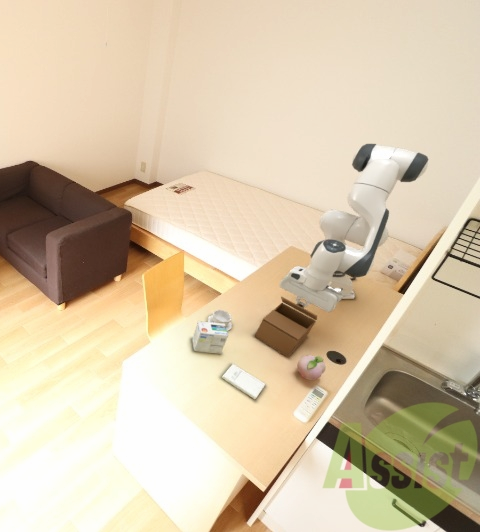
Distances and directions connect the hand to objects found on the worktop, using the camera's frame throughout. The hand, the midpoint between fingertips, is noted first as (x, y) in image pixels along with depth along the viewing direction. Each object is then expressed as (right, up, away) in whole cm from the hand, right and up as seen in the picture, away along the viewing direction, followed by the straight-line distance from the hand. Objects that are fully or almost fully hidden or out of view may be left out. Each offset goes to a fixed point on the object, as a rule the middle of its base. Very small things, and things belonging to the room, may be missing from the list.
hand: (300, 306), depth 142 cm
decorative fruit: (-5, -25, -10) cm, 27 cm away
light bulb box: (-38, -16, -1) cm, 42 cm away
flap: (0, -1, 0) cm, 1 cm away
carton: (-5, -13, +5) cm, 15 cm away
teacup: (-29, -9, +10) cm, 31 cm away
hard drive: (-30, -26, -14) cm, 42 cm away
